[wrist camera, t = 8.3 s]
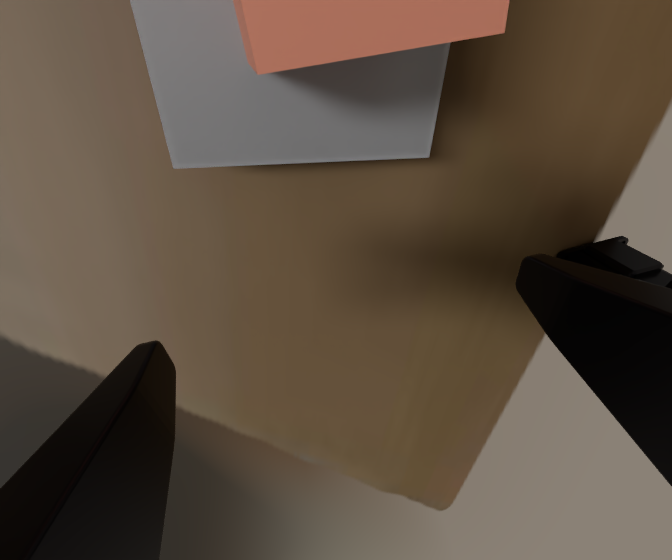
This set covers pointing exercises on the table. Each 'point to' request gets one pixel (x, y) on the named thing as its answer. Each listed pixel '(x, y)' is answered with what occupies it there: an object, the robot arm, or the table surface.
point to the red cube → (356, 28)
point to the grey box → (280, 95)
